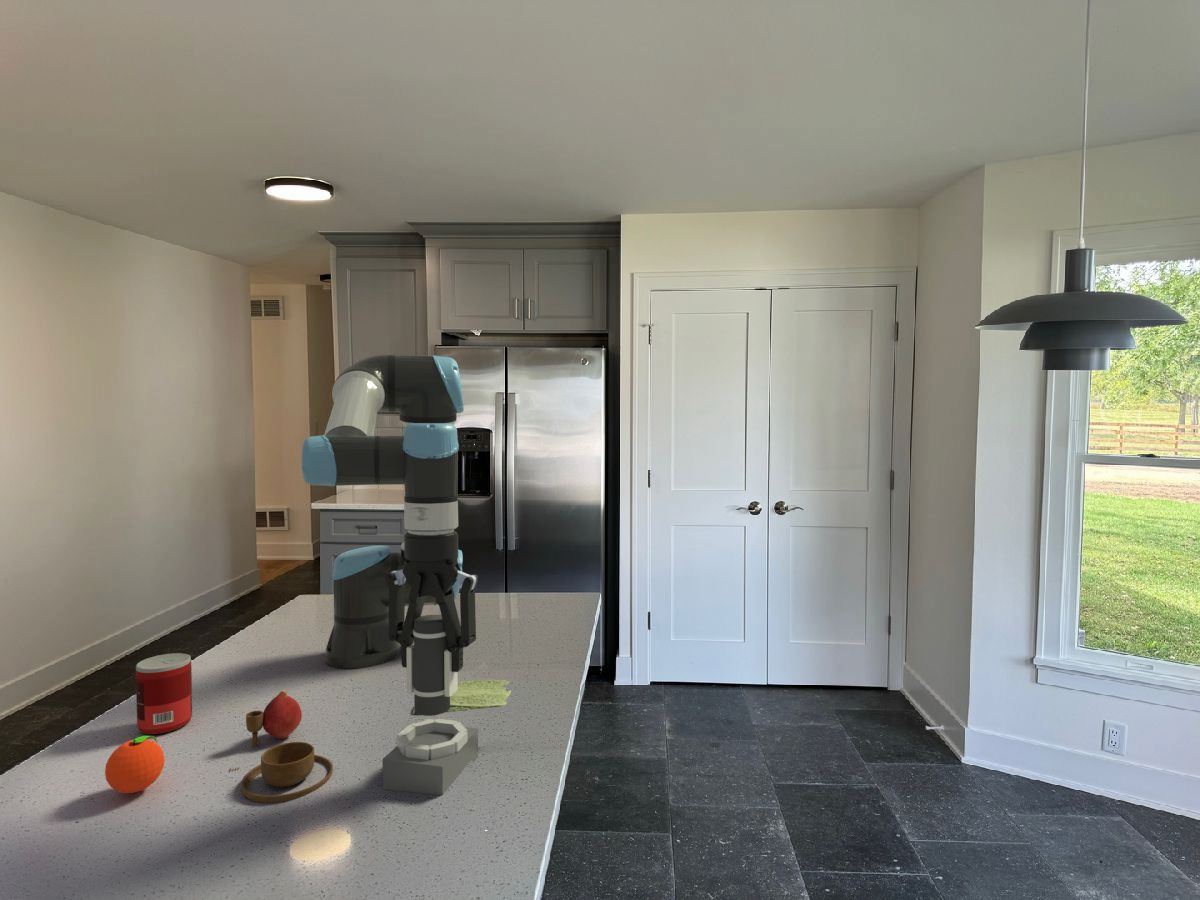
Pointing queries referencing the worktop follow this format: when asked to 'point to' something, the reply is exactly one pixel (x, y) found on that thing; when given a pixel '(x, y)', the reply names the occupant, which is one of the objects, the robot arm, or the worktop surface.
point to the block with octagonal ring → (429, 756)
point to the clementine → (134, 765)
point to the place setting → (281, 765)
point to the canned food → (164, 693)
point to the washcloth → (478, 695)
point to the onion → (281, 716)
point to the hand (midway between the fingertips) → (432, 690)
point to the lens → (430, 666)
